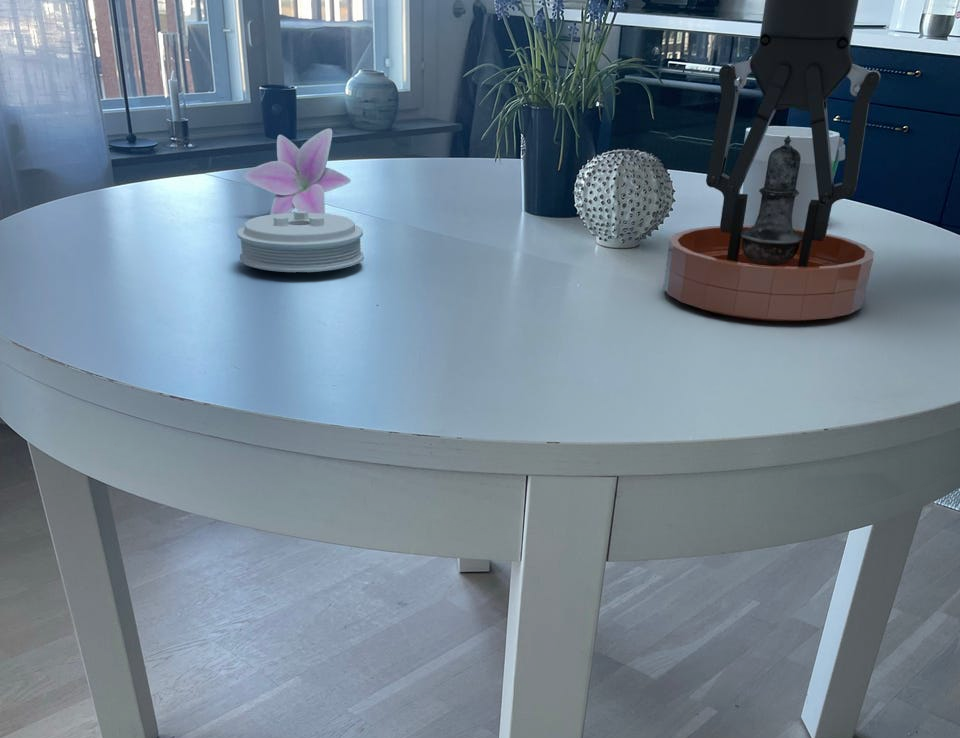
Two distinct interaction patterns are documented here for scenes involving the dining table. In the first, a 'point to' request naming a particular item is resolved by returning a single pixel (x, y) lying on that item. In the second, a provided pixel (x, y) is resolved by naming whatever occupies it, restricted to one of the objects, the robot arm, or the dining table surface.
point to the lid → (300, 242)
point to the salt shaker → (775, 212)
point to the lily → (299, 175)
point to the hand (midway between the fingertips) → (765, 272)
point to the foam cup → (806, 174)
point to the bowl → (767, 278)
